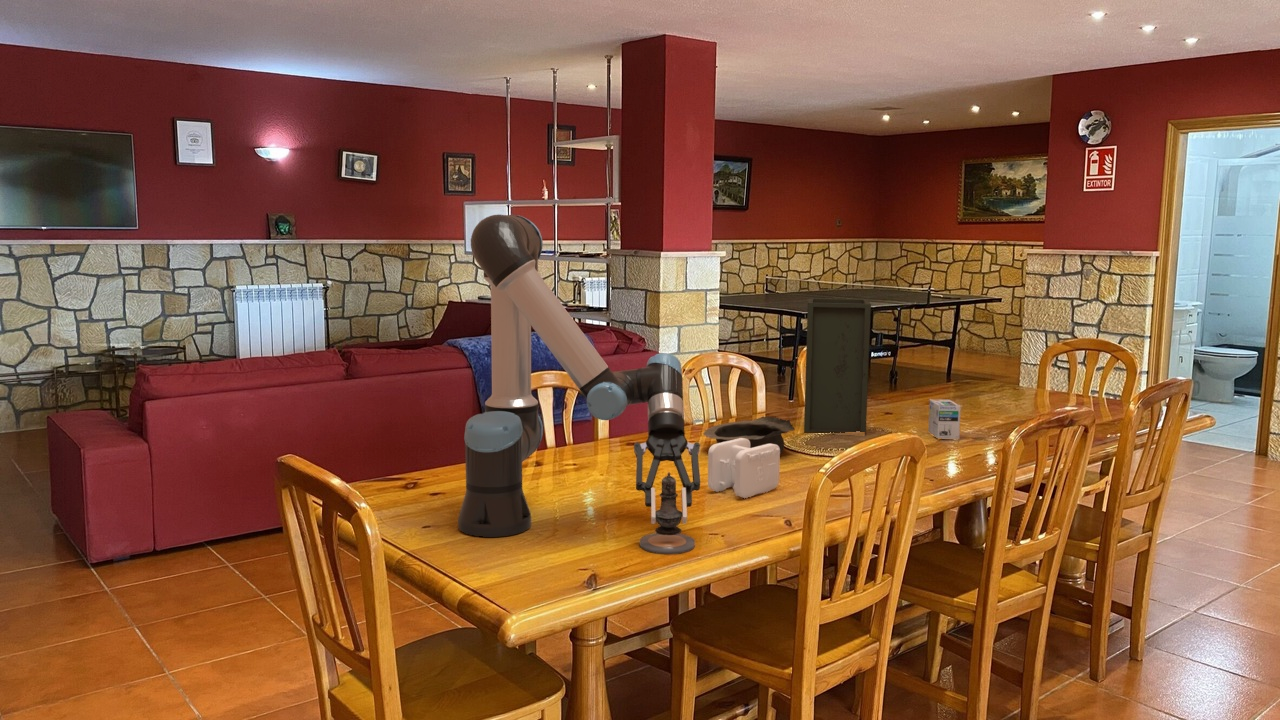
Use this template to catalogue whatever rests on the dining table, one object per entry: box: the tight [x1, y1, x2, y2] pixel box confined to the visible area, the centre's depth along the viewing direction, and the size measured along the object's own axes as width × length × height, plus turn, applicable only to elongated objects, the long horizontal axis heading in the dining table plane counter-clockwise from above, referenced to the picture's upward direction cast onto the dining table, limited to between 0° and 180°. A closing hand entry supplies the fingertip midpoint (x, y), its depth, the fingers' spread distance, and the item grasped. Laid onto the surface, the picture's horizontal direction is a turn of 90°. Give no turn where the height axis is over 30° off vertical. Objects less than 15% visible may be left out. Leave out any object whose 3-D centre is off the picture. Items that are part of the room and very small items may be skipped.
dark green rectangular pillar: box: [803, 298, 872, 434], centre depth 301 cm, size 18×18×40 cm
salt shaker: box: [654, 471, 682, 535], centre depth 191 cm, size 6×6×12 cm
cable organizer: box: [707, 438, 781, 500], centre depth 231 cm, size 15×11×12 cm
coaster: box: [639, 532, 696, 555], centre depth 193 cm, size 11×11×1 cm
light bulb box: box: [927, 398, 962, 440], centre depth 293 cm, size 11×7×11 cm, turn 179°
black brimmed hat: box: [703, 416, 796, 455], centre depth 271 cm, size 25×25×9 cm
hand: (669, 520), depth 188 cm, fingers closed on salt shaker, 5 cm apart
